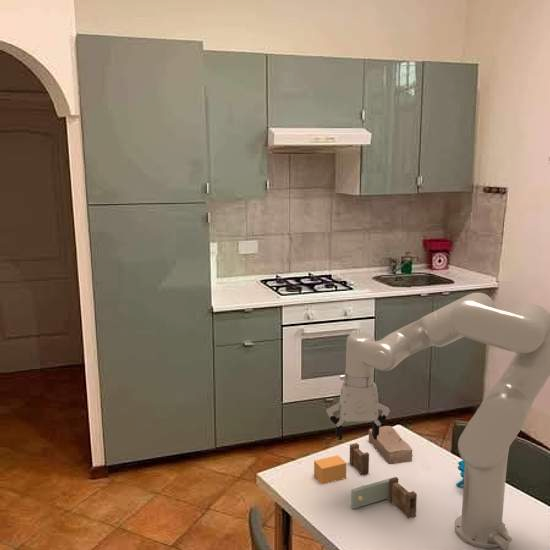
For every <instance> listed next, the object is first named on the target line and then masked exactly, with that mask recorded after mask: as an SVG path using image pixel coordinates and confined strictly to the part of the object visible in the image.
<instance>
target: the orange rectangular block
mask: <svg viewBox="0 0 550 550" xmlns="http://www.w3.org/2000/svg"><path fill="white" fill-rule="evenodd" d="M313 476H314V477H315V479H316V480H317V481H318V480H319V481H320V482H321V483H322V484H321V483H320V482H319V481H318V482H319V483H320V484H321V485H324V483H325V484H329V483H332V482H331V481H333V482H335V481H334V480H337V481H340V480H339V479H341V480H343V479H342V478H345V479H347V462H346V461H345V460H344V459H343V458H341V456H339V455H338V454H337V455H333V456H328V457H324V458H320V459H317V460H313ZM328 482H329V483H328Z"/></svg>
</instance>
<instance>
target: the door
mask: <svg viewBox="0 0 550 550" xmlns="http://www.w3.org/2000/svg"><path fill="white" fill-rule="evenodd" d="M389 479H390V478H386V479H383V480H380V481H376V482H372V483H369V484H368V483H367V484H366V485H362V486H359V487H354V488H351V490H350V507H351V508H352V509H357V508H361V507H363V506H367V505H370V504H373V503H377V502H380V501H383V500H387V499H389Z"/></svg>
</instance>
